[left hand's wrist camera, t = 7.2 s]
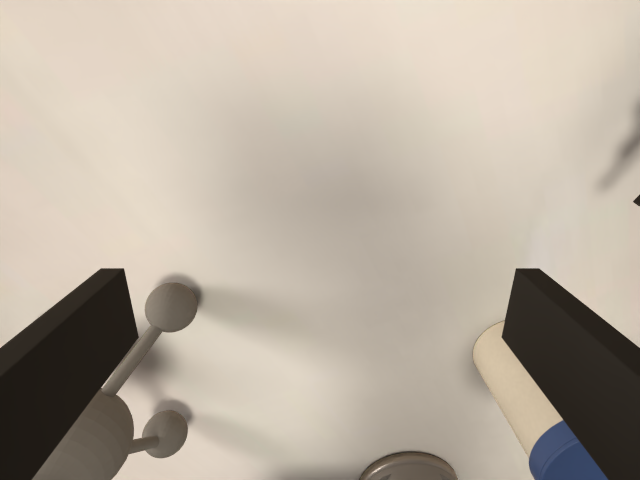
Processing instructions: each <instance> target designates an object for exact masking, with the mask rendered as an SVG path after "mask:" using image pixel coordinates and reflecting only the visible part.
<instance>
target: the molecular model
mask: <svg viewBox="0 0 640 480" xmlns="http://www.w3.org/2000/svg"><path fill="white" fill-rule="evenodd" d="M196 312H197V300H196V297H195V295H194V293H193V292H192V291H191V290H190V289H189V288H188V287H186V286H185V285H182V284H179V283H167V284H164V285H161V286H159V287H157V288H156V289H155V290H153V291H152V292H151V293H150V295H149V297H148V298H147V301H146V304H145V314H146V318H147V320H148V321H149V323H150V324H151V326H150V327H149V329H148V330H147V331H146V333H145V334H144V335H143V336H142V338H141V339H140V340H139V342H138V343H137V344H136V346H135V347H134V348H133V349H132V351H131V352H130V353H129V355H128V356H127V357H126V359H125V360H124V361H123V363H122V364H121V365H120V366H119V368H118V369H117V370H116V372H115V373H114V374H113V376H112V377H111V378H110V379H109V381H108V382H107V383H106V385H105V386H104V387H103V388H100V389H99V391H98V392H97V393H96V395H95V396H94V397H93V399H92V400H91V401H90V403H89V404H88V405H87V407H86V408H85V409H84V411H83V412H82V413H81V415H80V416H79V417H78V419H77V420H76V421H75V423H74V424H73V425H72V427H71V428H70V429H69V431H68V432H67V433H66V435H65V436H64V437H63V439H62V440H61V441H60V443H59V444H58V445H57V447H56V448H55V449H54V451H53V452H52V453H51V455H50V456H49V457H48V459H47V460H46V461H45V463H44V464H43V465H42V467H41V468H40V469H39V471H38V472H37V473H36V475H35V476H34V477H33V479H32V480H111V479H112V478H113V477H114V476H115V475H116V474H117V473H118V471H119V470H120V468H121V467H122V465H123V464H124V462H125V461H126V459H127V456H128V454H132V453H136V452H140V451H144V450H145V451H146V452H147V453H148V454H149V455H151V456H153V457H155V458H166V457H169V456H171V455H173V454H175V453H176V452H177V451H179V450H180V448H181V447H182V446H183V444H184V442H185V440H186V438H187V433H188V427H187V423H186V420H185V419H184V417H183V416H182V415H181V414H179V413H178V412H175V411H170V410H167V411H162V412H159V413H158V414H156V415H154V416H153V417H152V418H151V419H150V420H149V421H148V422H147V424H146V425H145V427H144V430H143V433H142V438H139V439H134V440H133V436H134V425H133V419H132V415H131V413H130V411H129V408H128V406H127V405H126V404H125V402H124V401H123V400H122V399H121V398H120V397H119V396H117V395H116V393H117V392H118V391H119V389H120V388H121V387H122V385H123V384H124V383H125V381H126V380H127V379H128V377H129V376H130V374H131V373H132V372H133V370H134V369H135V368H136V366H137V365H138V364H139V362H140V361H141V360H142V358H143V357H144V356H145V354H146V353H147V352H148V350H149V349H150V347H151V346H152V345H153V343H154V342H155V341H156V339H157V338H158V337H159V335H160V334H161V333H162V331H163V332H176V331H179V330H182V329H184V328H185V327H187V326H188V325H189V324H190V323H191V322H192V321H193V319H194V317H195V315H196Z"/></svg>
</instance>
